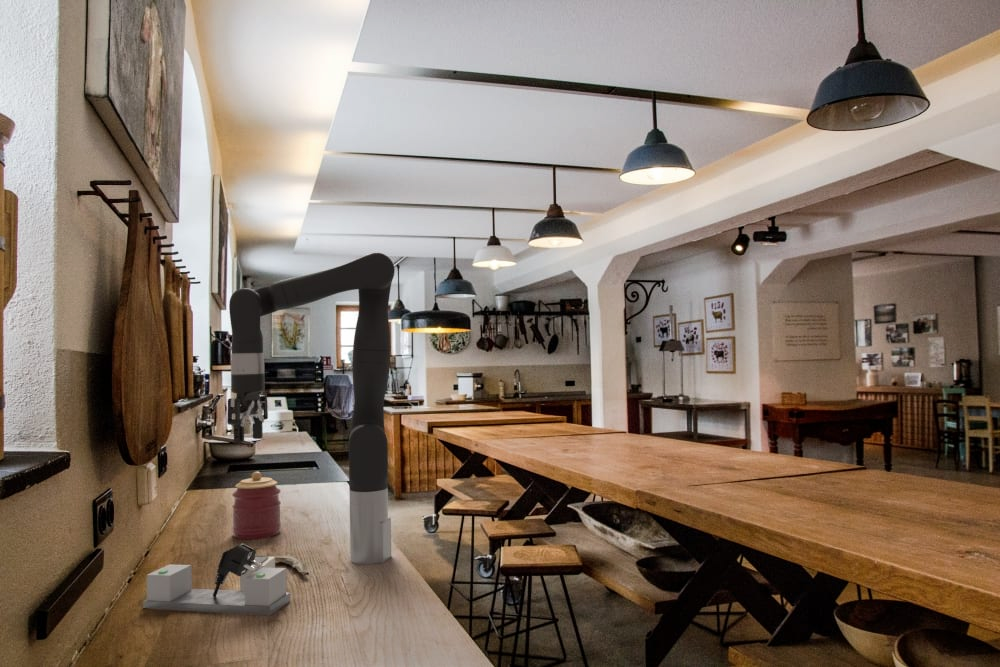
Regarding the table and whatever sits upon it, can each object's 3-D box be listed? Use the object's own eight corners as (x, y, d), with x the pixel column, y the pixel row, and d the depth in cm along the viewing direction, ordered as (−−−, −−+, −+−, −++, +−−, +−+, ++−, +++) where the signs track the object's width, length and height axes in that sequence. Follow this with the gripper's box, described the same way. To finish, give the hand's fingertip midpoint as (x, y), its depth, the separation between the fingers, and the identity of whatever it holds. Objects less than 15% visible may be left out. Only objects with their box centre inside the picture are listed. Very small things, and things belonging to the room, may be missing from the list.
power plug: (219, 589, 141) (239, 535, 141) (250, 605, 140) (270, 551, 139) (202, 599, 136) (222, 543, 135) (234, 616, 134) (255, 559, 134)
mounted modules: (286, 593, 140) (286, 566, 140) (269, 605, 133) (268, 577, 133) (169, 588, 144) (169, 562, 144) (146, 600, 137) (146, 572, 137)
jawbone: (280, 559, 172) (281, 550, 172) (337, 573, 161) (337, 563, 161) (249, 563, 165) (250, 554, 165) (306, 578, 153) (306, 568, 154)
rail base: (290, 602, 140) (289, 592, 140) (270, 617, 132) (270, 606, 132) (169, 597, 145) (168, 587, 145) (142, 611, 137) (142, 601, 137)
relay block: (275, 584, 152) (275, 554, 152) (263, 595, 145) (263, 564, 145) (252, 584, 152) (252, 555, 152) (240, 595, 145) (239, 564, 145)
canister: (222, 539, 192) (222, 475, 193) (250, 527, 205) (249, 467, 205) (264, 541, 189) (263, 475, 190) (289, 529, 202) (289, 468, 202)
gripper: (246, 372, 158) (247, 444, 158) (276, 371, 172) (277, 437, 172) (216, 373, 160) (217, 444, 159) (248, 372, 174) (249, 437, 173)
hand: (248, 440), depth 165 cm, fingers open, 8 cm apart
